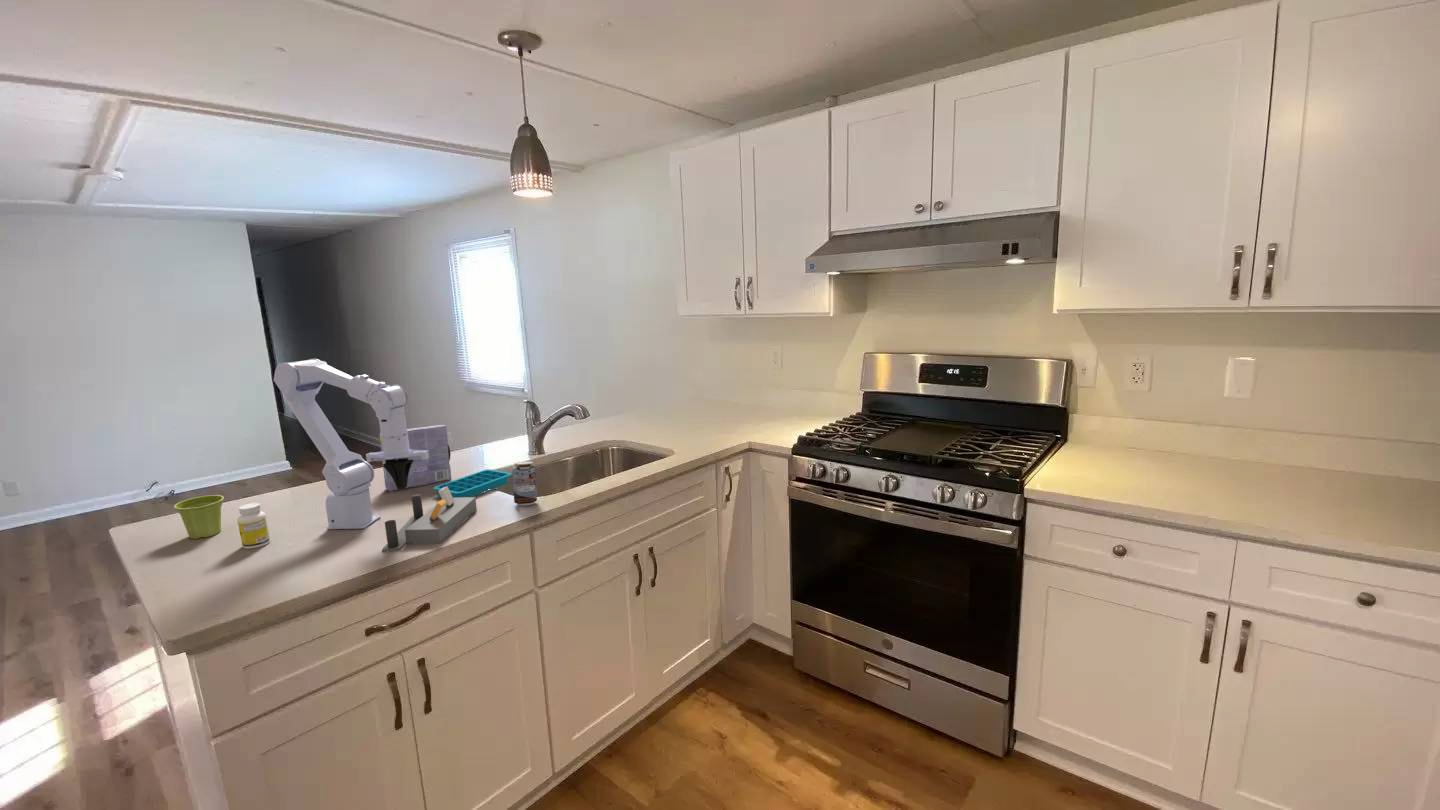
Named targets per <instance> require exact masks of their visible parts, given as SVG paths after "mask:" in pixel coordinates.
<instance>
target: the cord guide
mask: <svg viewBox="0 0 1440 810" xmlns="http://www.w3.org/2000/svg"><path fill="white" fill-rule="evenodd" d="M411 504H412V513H413V515H412V516H411V517H409V520H407V522H405V524H404V525H403V526H402V527H401V528H400V529H399V530H398V529H397V522H396V520H395V519H389V520H387V521H385V522H384V527H385V528H384V529H385V534H386V542H387V543H386V544H385V545H384V547H383V548H382V549H381V552H382V553H386V552H387V551H389V552H398V551H399V550H401V549H402V550H403V549H404V547H405V546H406V545H407V544H406V536H405V529H407V528H408V527H409V526H410V525H412V524H413V523H414V522H416V521H417V520H418V519H419V518H421V517H422V516H423V515H424V509H423V501H422V495H421V494H420V493H419V494H417V493H416V494H413V495H411ZM402 550H401V551H402Z"/></svg>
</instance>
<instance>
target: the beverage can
mask: <svg viewBox="0 0 1440 810" xmlns="http://www.w3.org/2000/svg"><path fill="white" fill-rule="evenodd" d="M536 472H537V469H536V465H535V464H534V461H519V462H518V461H517V462H515V463H514V465H513V467H512V481H513V483H512V487H513V488H512V489H513V503H514V504H516V505H517V506H530V505H531V506H532V505H533V504H535V502H537V501H538V495H537V494H538V493H537V492H538V491H537V473H536Z"/></svg>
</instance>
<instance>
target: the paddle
mask: <svg viewBox="0 0 1440 810" xmlns="http://www.w3.org/2000/svg"><path fill="white" fill-rule="evenodd" d="M439 494H440V496H441V497H440V498H441V500H442V499H443V500H445V501H447V502H446V504H445V507H446V508H449V507H450V506H451V505H452V504H453V503H454V499H453V497H452V495H451V493H450V491H449V488H448V486H447V487H444V488H442V489H441V490H439Z"/></svg>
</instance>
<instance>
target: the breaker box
mask: <svg viewBox="0 0 1440 810" xmlns="http://www.w3.org/2000/svg"><path fill="white" fill-rule="evenodd" d="M476 498H477V497H475V496H473V497H459V498H453V499H454V503H453V504H452V505H451V506H450V507H449V508H446V507H445V506H444V508H443V510H442V511H441V513H440V515H439V517H437V518H436V519H435V520H433V521H430V520H429V519H430V516H431V514H432V512H433V510H434V508H435V506H433V507H432V508H431V509H430V510H428V511H427V512H425V513H423V516H422V517H421V518H419V519H418V520H417V521H416V522H414V523H413V524H412V525H410V526H409V527H408V528H407V529H405V536H406V545H408V544H409V545H412V544H414V545H415V544H417V545H418V544H419V545H420V543H423V544H441V543H443V541H444V540H446V538H448V535H449V534H450V533H451V532H452V533H453V532H454V531H455V530H456V529H457V528H458V527H460V525H462V524H463V523H464V522H465V521H466V520H467V519H468V518H469V517H470V516H471V515H472V514H473V513H475V511H477V510H476V509H478V508H477V501H476V500H477V499H476ZM467 517H468V518H467ZM466 518H467V519H466ZM465 519H466V520H465ZM464 520H465V521H464ZM463 521H464V522H463ZM462 522H463V523H462ZM452 533H451V534H452ZM451 534H450V535H451ZM450 535H449V536H450Z"/></svg>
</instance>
